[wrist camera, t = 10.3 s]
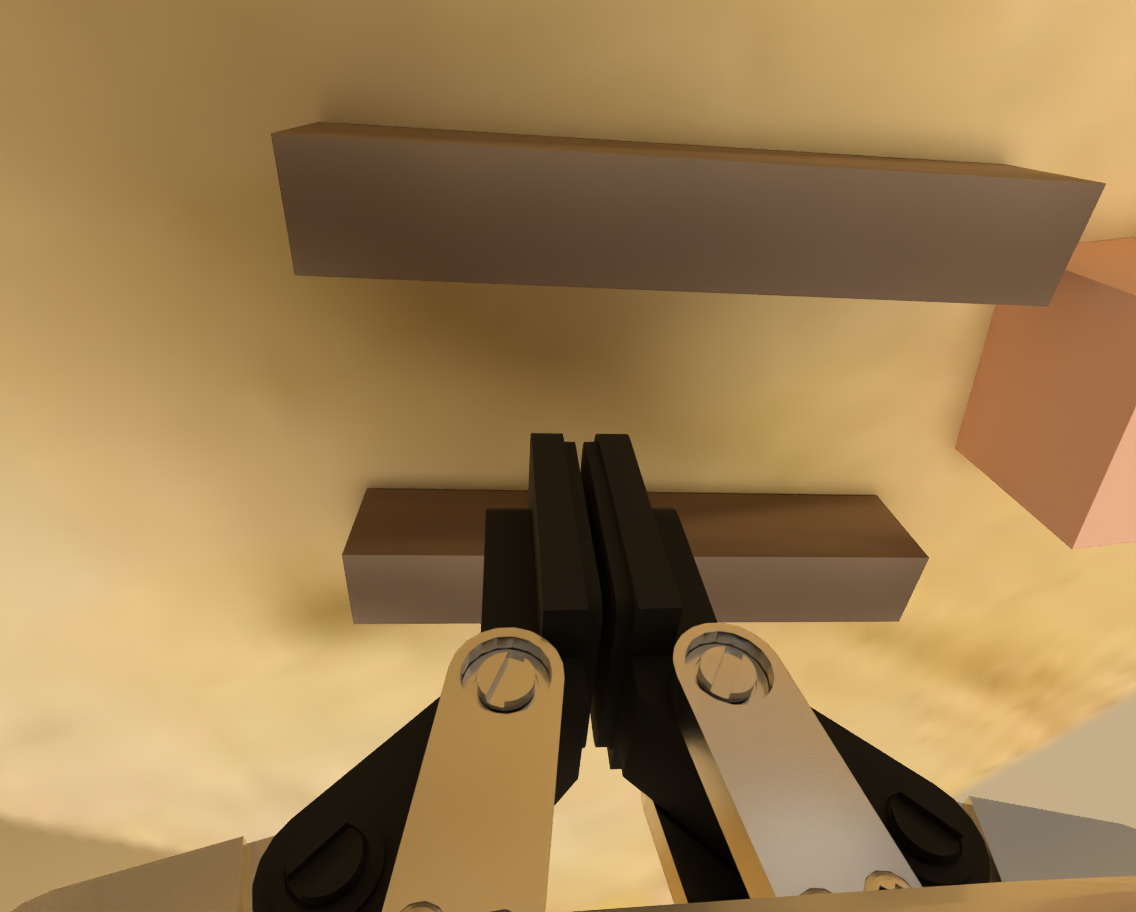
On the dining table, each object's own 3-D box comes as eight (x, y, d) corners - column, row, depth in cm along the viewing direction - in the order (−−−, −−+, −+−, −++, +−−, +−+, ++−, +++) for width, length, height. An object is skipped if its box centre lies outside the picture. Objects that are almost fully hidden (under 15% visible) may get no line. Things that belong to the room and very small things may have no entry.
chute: (318, 122, 14) (271, 133, 11) (1006, 164, 15) (1106, 183, 12) (375, 553, 20) (353, 623, 17) (853, 555, 21) (899, 621, 19)
